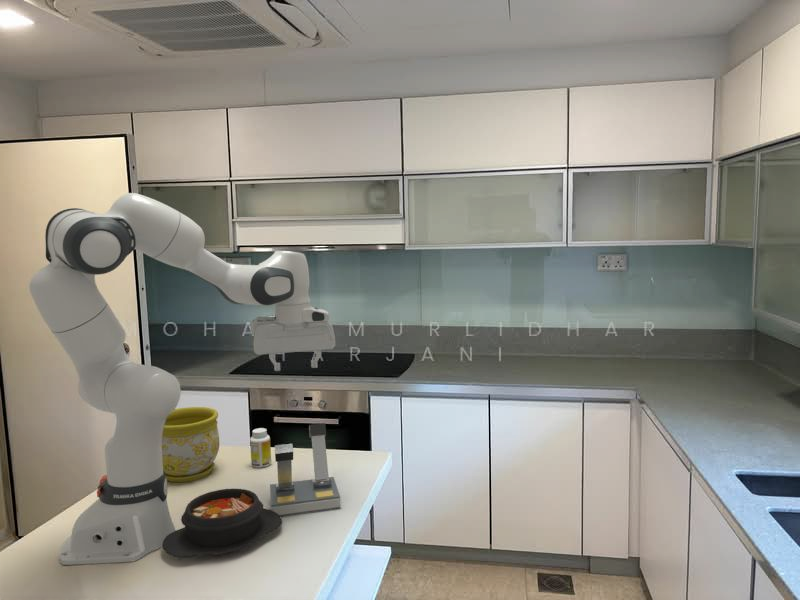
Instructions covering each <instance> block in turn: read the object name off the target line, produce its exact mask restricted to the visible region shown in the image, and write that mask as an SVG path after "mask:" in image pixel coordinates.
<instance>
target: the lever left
mask: <svg viewBox="0 0 800 600" xmlns="http://www.w3.org/2000/svg"><path fill="white" fill-rule="evenodd" d="M274 457H275V460H274V461H275V463H276V467H277V468H276V469H277V483H278V487H276V493H279V492H287V491H295V489H294V485H292V482H293V478H292V477H293V474H292V473H293V472H292V470H293V469H292V467H293V466H292V463H293V460H294V446H293V443H287V444H285V443H283V444H277V445H276V444H275V445H274Z"/></svg>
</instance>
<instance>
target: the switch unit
mask: <svg viewBox="0 0 800 600" xmlns="http://www.w3.org/2000/svg"><path fill="white" fill-rule="evenodd" d="M328 480H331V482H332V486H327V487H319V488H313V482H319V481H315V478H311V479H304V480H296V481H292V485H294V489H295V491H287V492H279V493H276V487H278V482H277V483H272V484H269V490H270V491H269V492H270V506H271V509H270V510H271V511H274V512H276V513H277V514H278V515H279V516H280V517H286V516H293V515H294V516H295V515H301V514H308V513H317V512H323V511H331V510H338V509H341V496H340V492H339V488H338V487H337V483H336V480H335V477H334V476H329V479H328ZM320 481H327V480H320Z"/></svg>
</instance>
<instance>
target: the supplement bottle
mask: <svg viewBox="0 0 800 600" xmlns="http://www.w3.org/2000/svg"><path fill="white" fill-rule="evenodd" d="M267 431H268V430H267V428H264V427H259V428H254V429H253V430H252V432H251V433H252V436H251V437H250V438H249V446H250V459H251V460H250V461H251V462H250V463H251V466H252V467H253V468H257V469H262V468H266V467H268V466H270V465H271V464H272V451H271V450H272V449H271V437H270V435H269V434H268V432H267Z"/></svg>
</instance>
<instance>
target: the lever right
mask: <svg viewBox="0 0 800 600" xmlns="http://www.w3.org/2000/svg"><path fill="white" fill-rule="evenodd" d="M308 431H309V433H308V434H309V438H311V447H312V458H313V461H312V462H313V470H314V471H313V472H314V479H315V481H319V482H313V488H319V487H327V486H332V482H331V480H328V479H329V477H330V476H329V467H328V458H327V457H328V456H327V446H326V445H327V444H326V436H327V427H326V423H325V422H324V423H315V424H309V426H308ZM320 480H327V481H320Z"/></svg>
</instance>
